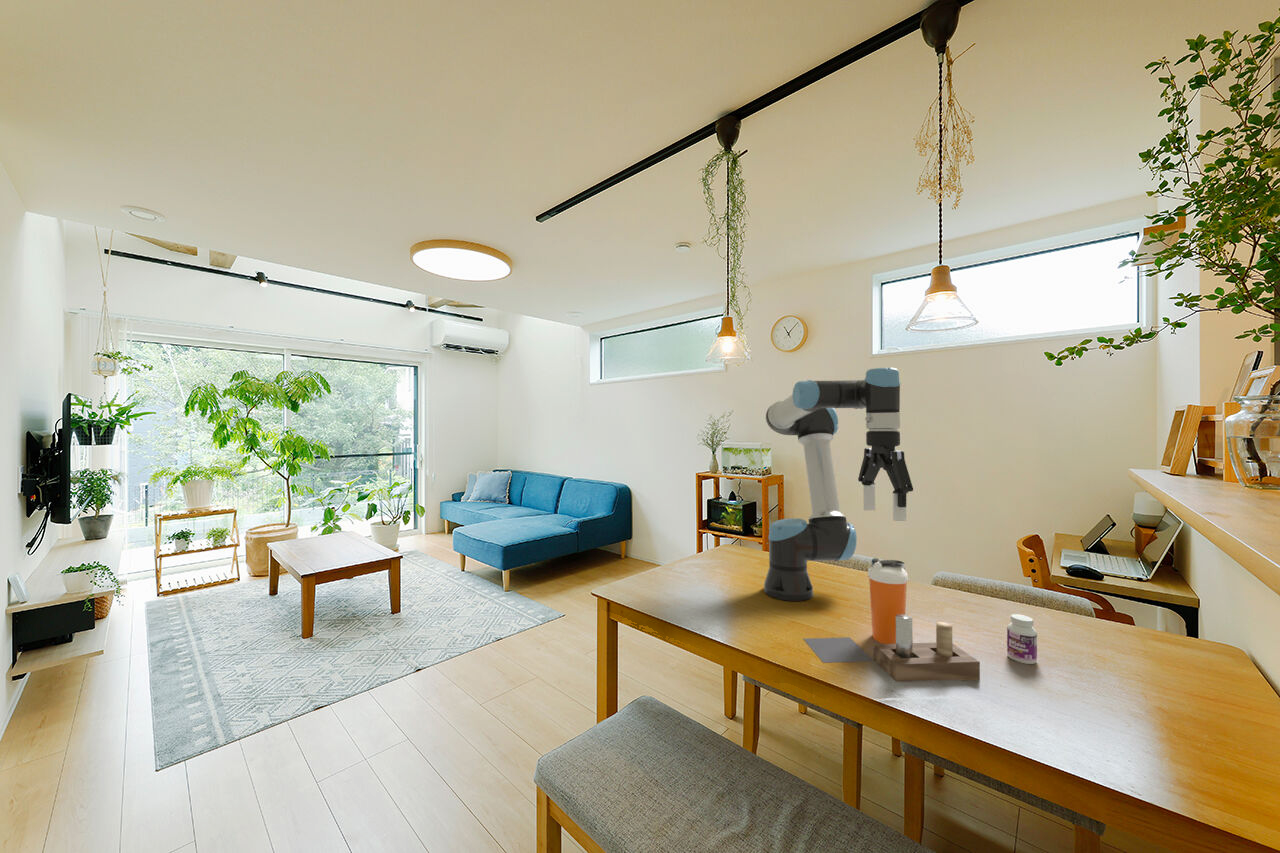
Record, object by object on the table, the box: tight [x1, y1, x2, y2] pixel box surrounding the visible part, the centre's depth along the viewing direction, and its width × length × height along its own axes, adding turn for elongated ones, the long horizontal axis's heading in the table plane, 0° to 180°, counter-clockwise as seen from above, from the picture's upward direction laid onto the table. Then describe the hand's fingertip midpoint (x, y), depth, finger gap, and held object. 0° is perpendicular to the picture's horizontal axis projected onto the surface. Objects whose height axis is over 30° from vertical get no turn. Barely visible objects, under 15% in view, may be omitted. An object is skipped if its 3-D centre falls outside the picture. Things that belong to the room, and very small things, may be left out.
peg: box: [896, 614, 914, 658], centre depth 103 cm, size 3×3×12 cm
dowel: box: [935, 621, 953, 657], centre depth 104 cm, size 3×3×10 cm
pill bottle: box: [1006, 613, 1038, 665], centre depth 108 cm, size 5×5×10 cm
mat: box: [803, 636, 875, 664], centre depth 113 cm, size 12×12×1 cm
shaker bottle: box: [867, 557, 909, 644], centre depth 118 cm, size 9×9×20 cm
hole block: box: [873, 642, 981, 683], centre depth 104 cm, size 9×18×4 cm, turn 92°
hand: (883, 515), depth 117 cm, fingers open, 13 cm apart
